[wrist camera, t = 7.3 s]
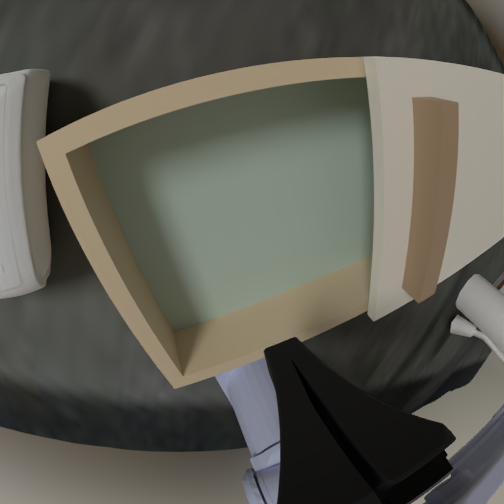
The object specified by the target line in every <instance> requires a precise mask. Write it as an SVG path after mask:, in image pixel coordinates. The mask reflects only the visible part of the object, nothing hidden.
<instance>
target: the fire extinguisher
mask: <svg viewBox="0 0 504 504" xmlns="http://www.w3.org/2000/svg"><path fill="white" fill-rule="evenodd" d="M456 307H457V308H458V309H459V310H460V311H461V312H462V313H463V314H464V315H465V316H466V317H467V318H468V319H469V320H470V321H472V322H473V323H474V324H475V325H476V326H477V327H478V328H479V329H480V330H481V331H482V332H481V331H478V330H476V326H475V325H473V324H472V323H470V322H469V321H467V320H465V319H464V318H462V317H461V316H459V315H457V316H456V317H455V319H454V320H453V321H452V323H451V330H450V333H454V334H458V335H462V336H467V337H471V336H473V335H474V336H476V337H478V338H480V339H482V340H484V341H485V343H486V344H487V345H488V346H489V347H490V348H491V350H492V351H493V352H494V353H495V354H496V355H497V357H498V358H499V359H500V361H501V362H502V363H503V364H504V354H503V353H504V294H503V293H501V292H500V291H499V290H498V289H497V288H496V287H494V286H493V285H492V284H491V283H489V282H488V281H487V280H486V279H484V278H483V277H482V276H481V275H479V274H474V275H473V276H472V277H471V278H470V279H469V280H468V281H467V282H466V284H465V285H464V287H463V288H462V290H461V291H460V293H459V296H458V298H457V301H456ZM498 348H499V349H500V350H501V351H502V352H503V353H502V352H501V351H500V350H499V349H498Z"/></svg>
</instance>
